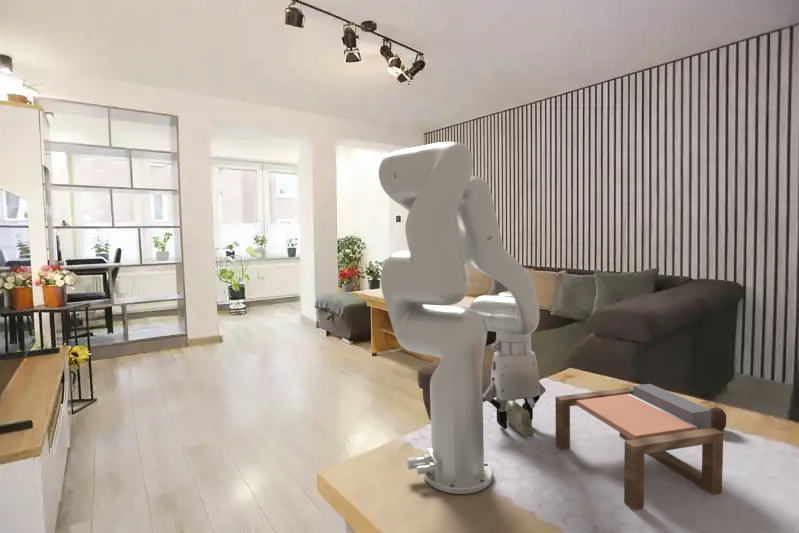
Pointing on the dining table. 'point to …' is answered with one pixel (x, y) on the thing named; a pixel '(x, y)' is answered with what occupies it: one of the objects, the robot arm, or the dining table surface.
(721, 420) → the bolt
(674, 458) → the frame
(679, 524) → the dining table surface
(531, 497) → the dining table surface
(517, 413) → the cuneiform tablet
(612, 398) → the trapdoor
